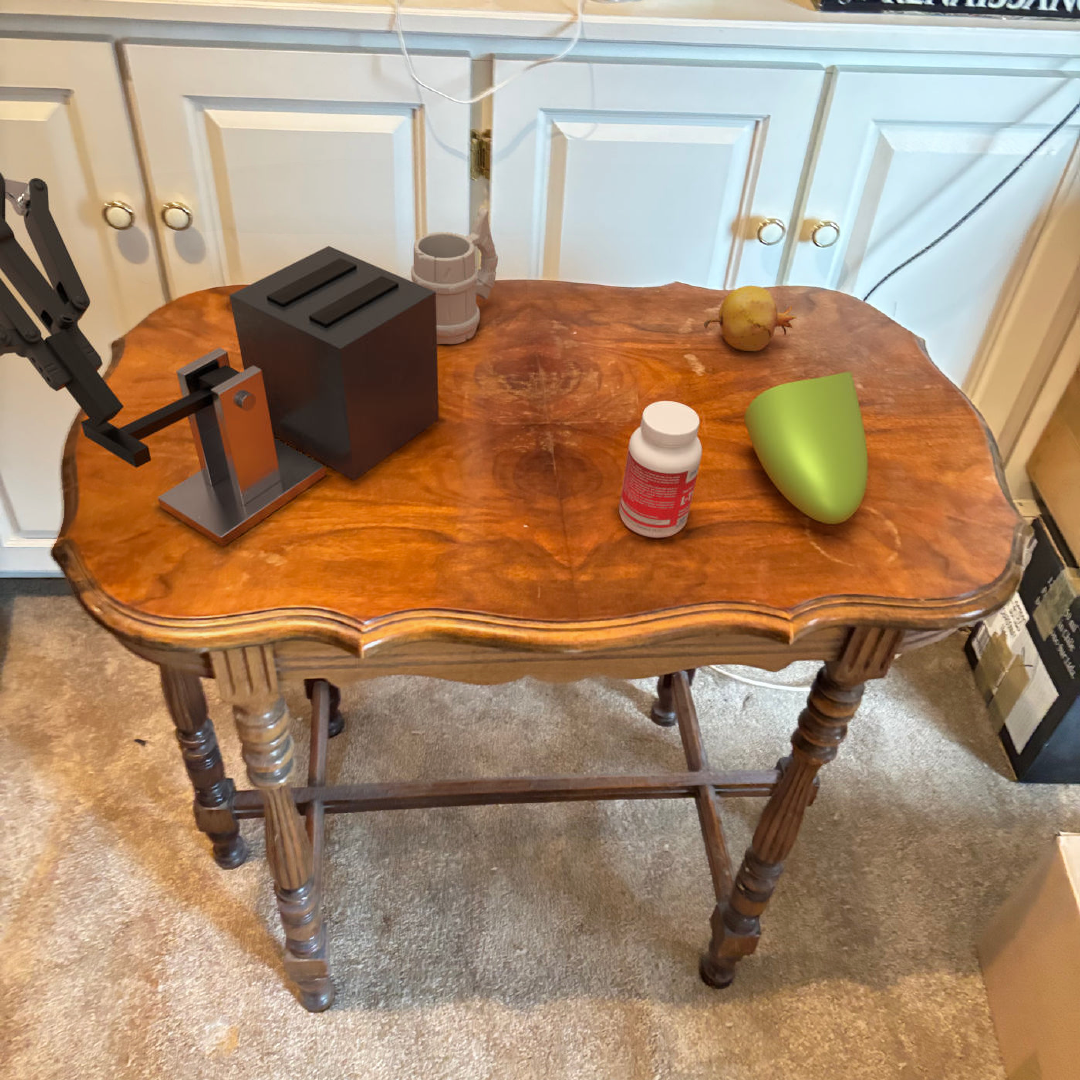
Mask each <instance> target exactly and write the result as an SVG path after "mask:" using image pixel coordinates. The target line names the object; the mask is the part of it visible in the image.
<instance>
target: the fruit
mask: <svg viewBox="0 0 1080 1080" xmlns="http://www.w3.org/2000/svg"><path fill="white" fill-rule="evenodd" d="M793 307H794V306H793V305H790V307H788V308H787V309H785V311H784V312H778V308H777V304H776V301H775V297H774V296H773V294H772V293H771V292H770V291H769V290H767V289H766V288H763V287H761V286H757V285H744V286H739V287H737V288H735V289H734V290H732V291H731V292H729V293H728V294H727V296H726V297H725V298H724V300H723V301H722V303H721V305H720V307H719V311H718V318H709V319H707V320H706V321H705V322H704V323H703V327H704V328H705V329H708V325H709V324H710V323H718V324H719V326H720V330H721V333H722V336H723V338H724V340H725V342H726V343H727V344H728V345H729V346H731V347H732V348H734V349H736V350H739V351H744V352H757V351H761V350H763V349H764V348H765V347H767V346H768V345H769V344H770V342H771V340H772V339H773V337H774V334H775V330H776V328H777V327H781V328H782V329H783V334H784V336H786V335H787V328H790V329H794V327H793V324H792V323H790V321H792V320H794V319H796V318H797V316H794V315H792V314H789V313H790V312H791V311H792V310H793Z"/></svg>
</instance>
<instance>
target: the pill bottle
mask: <svg viewBox="0 0 1080 1080" xmlns="http://www.w3.org/2000/svg"><path fill="white" fill-rule="evenodd" d="M699 427H700V417H699V415H698V414H697V412H696V411H695V410H694V409H693V408H691V407H690V406H688V405H686V404H683V403H682V402H678V401H671V400H660V401H656V402H652V403H650V404H649V405H647V406H646V407H645V408H644V410H643V412H642V416H641V421H640V426H639V427H637V428H636V429H635V430H634V431H633V433H632V434H631V436H630V439H629V442H628V447H627V455H626V462H625V468H624V474H623V479H622V480H623V481H622V486H621V487H622V488H621V493H620V499H619V505H618V506H619V507H618V509H619V510H618V513H619V515H620V519H621V520H622V522H623V524H624V525H625V526H626V527H627V528H628V529H630V530H631V531H632V532H634V533H636V534H638V535H640V536H644V537H649V538H667V537H671V536H673V535H676V534H677V533H679V532H680V531H681V530H682V529H683V528H684V527H685V526H686V523H687V522H688V518H689V513H690V509H691V504H692V500H693V495H694V491H695V488H696V487H695V486H696V482H697V478H698V474H699V470H700V465H701V460H702V454H703V448H702V443H701V440H700V439H699V436H698V432H699V429H700V428H699Z"/></svg>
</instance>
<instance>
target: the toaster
mask: <svg viewBox="0 0 1080 1080" xmlns="http://www.w3.org/2000/svg"><path fill="white" fill-rule="evenodd" d="M229 300H230V305H231V310H232V314H233V320H234V321H233V322H234V327H235V330H236V331H235V332H236V336H237V341H238V346H239V351H240V357H241V363H242V368H243V371H244V370H246V369H248V368H250V367H251V366H256V367H258V368H260V369H261V370H262V374H263V380H264V385H265V391H266V397H267V402H268V408H269V414H270V419H271V425H272V430H273V436H274V438H275V439H277V440H279V441H281V442H283V443H284V444H286V445H288V446H290V447H292V448H293V449H295V450H297V451H299V452H301V453H302V454H304V455H306V456H308V457H310V458H311V459H313V460H315V461H317V462H319V463H321V464H322V465H324V466H327V467H328V468H331V469H333V470H334V471H336V472H338V473H340V474H341V475H343V476H345V477H347V478H348V479H351V480H352V481H354V482H355V481H356V480H358V479H359V478H360V477H362V476H363V475H364V474H366V473H367V472H368V471H370V470H371V469H373V468H374V467H376V466H377V465H378V464H380V463H381V462H382V461H384V460H385V459H386V458H388V457H389V456H391V455H392V454H393V453H395V452H396V451H397V450H399V449H400V448H402V447H403V446H404V445H405V444H407V443H409V442H410V441H411V440H412V439H414V438H415V437H416V436H419V434H421V433H423V431H425V430H426V429H428V428H429V427H431V426H432V425H433V424H435V423H436V422H437V421H439V420H440V414H439V413H440V412H439V375H438V374H439V371H438V344H437V324H436V292H435V291H433V290H430V289H428V288H426V287H423V286H421V285H419V284H416V283H414V282H413V281H412V280H409V279H407V278H404V277H402V276H399V275H398V274H395V273H392V272H391V271H388V270H386V269H384V268H382V267H379V266H376V265H374V264H372V263H370V262H368V261H365V260H362V259H360V258H358V257H356V256H353V255H351V254H349V253H346V252H345V251H341V250H340V249H337V248H334V247H332V246H330V245H328V246H326V247H323V248H321V249H319V250H317V251H315V252H313V253H311V254H309V255H307V256H305V257H303V258H301V259H299V260H298V261H296V262H293V263H291V264H289V265H287V266H286V267H285V266H284V267H283V268H282V269H279V270H277V271H275V272H273V273H271V274H269V275H267V276H265V277H262V278H261V279H259V280H257V281H255V282H252V283H251V284H249V285H247V286H245V287H243V288H241V289H238V290H237V291H235V292H233V293H230V294H229Z"/></svg>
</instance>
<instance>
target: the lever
mask: <svg viewBox="0 0 1080 1080" xmlns="http://www.w3.org/2000/svg"><path fill="white" fill-rule="evenodd" d="M239 373H241V371H238V370H237V369H234V368H233V367H231V366H230V367H229V366H227V365H224V366H222V367H220V368H218V369H216V370H213V371H211V372H209V373H207V374H205V375H203V376H201V377H199V385H200V390H198V391H196V392H194V393H192V394H190V395H188V396H186V397H183V396H182V397H181V398H180V399H177V400H175V401H173V402H171V403H169V404H167V405H165V406H163V407H160V408H159V409H156V410H154V411H152V412H151V413H148V414H146V415H144V416H141V417H140V418H138V419H136V420H133V421H132V422H130V423H127V424H125V425H123V426H121V427H117V426H116V425H113V423H110V422H109V421H107V422H105V423H104V424H102V425H100V426H98V427H96V426H95V425H94V424H93V422H92V421H91V420H90V419H89V417H88V418H86V419H84V420H82V421H81V422H80V424H81V428H82V431H83V435H84V437H86V438H87V439H89V440H90V441H91V442H93V443H95V444H97V445H99V446H100V447H102V448H103V449H104V450H107V451H108V452H109V453H111V454H113V455H114V456H116V457H118V458H119V459H121V460H123V461H124V462H126V463H127V464H129V465H131V466H132V467H134V468H136V469H137V468H140V467H141V466H143V465H145V464H147V463H149V462H151V461H152V457H151V454H150V453H151V452H150V449H149V445H147V444H146V443H143V441H141V440H144V439H145V438H148V437H150V436H151V435H153V434H156V433H158V432H159V431H162V430H163V429H166V428H167V427H170V426H172V425H174V424H176V423H177V422H180V421H181V420H184V419H186V418H188V416H190V415H192V414H194V413H196V412H198V411H200V410H202V409H204V408H206V407H208V406H209V407H211V408H213V409H215V406H214V402H213V397H212V393H211V389H212V388H214V387H216V386H218V385H219V384H221V383H223V382H225V381H227V380H228V379H230V378H232V377H234V376H235V375H237V374H239Z"/></svg>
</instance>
